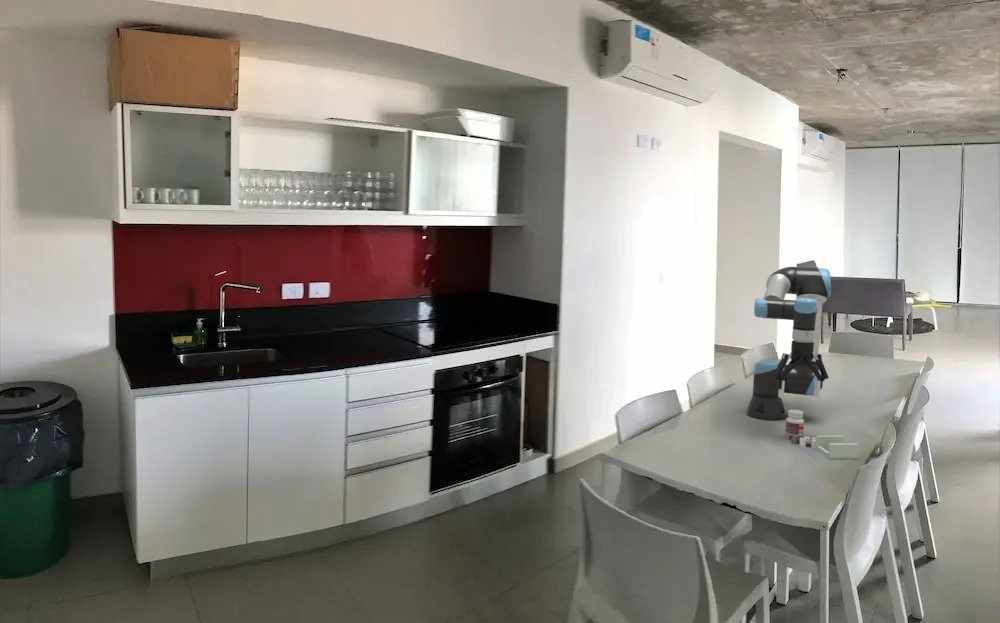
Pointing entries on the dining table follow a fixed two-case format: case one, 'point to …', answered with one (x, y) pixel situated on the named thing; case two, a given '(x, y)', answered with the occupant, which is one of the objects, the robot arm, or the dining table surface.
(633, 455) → the dining table surface
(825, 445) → the end holder
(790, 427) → the pill bottle
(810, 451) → the board
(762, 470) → the dining table surface
